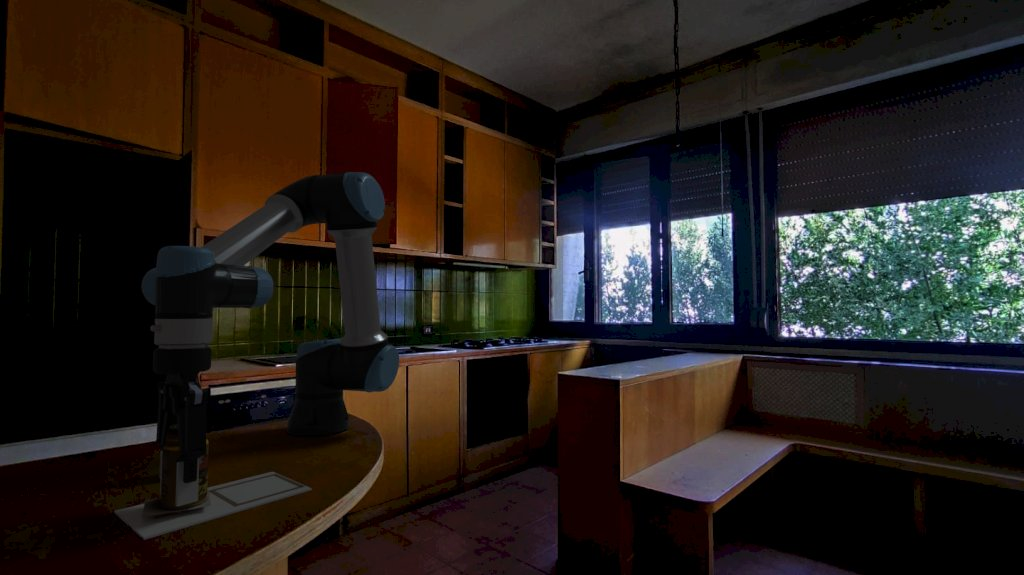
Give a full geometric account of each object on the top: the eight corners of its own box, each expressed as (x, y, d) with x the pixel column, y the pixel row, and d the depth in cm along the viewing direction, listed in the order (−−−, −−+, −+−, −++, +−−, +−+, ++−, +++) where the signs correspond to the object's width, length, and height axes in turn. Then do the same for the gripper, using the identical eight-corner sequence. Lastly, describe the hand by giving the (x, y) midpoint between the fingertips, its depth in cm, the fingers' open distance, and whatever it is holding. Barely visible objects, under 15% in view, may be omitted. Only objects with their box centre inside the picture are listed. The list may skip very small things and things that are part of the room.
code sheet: (272, 473, 94) (272, 471, 94) (311, 490, 85) (311, 488, 85) (114, 512, 75) (114, 510, 75) (143, 539, 66) (144, 537, 66)
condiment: (210, 506, 75) (212, 426, 76) (141, 519, 71) (144, 434, 71) (209, 491, 81) (211, 417, 82) (145, 502, 77) (147, 424, 77)
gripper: (135, 344, 80) (129, 490, 79) (177, 351, 68) (172, 523, 67) (187, 341, 86) (183, 477, 85) (235, 348, 74) (231, 505, 73)
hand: (178, 497), depth 76 cm, fingers closed on condiment, 6 cm apart
